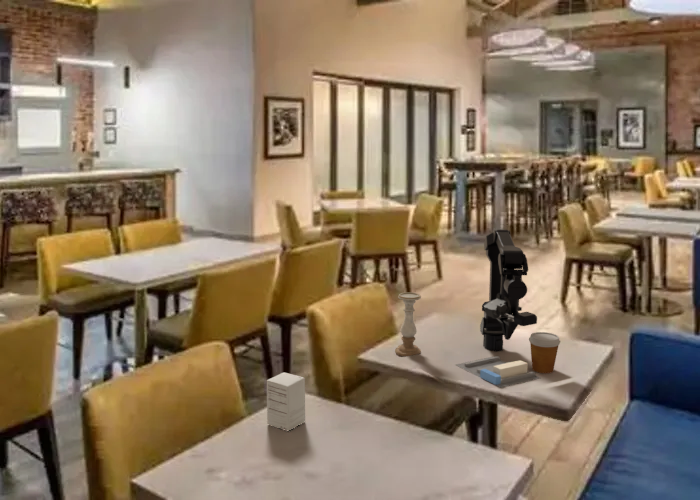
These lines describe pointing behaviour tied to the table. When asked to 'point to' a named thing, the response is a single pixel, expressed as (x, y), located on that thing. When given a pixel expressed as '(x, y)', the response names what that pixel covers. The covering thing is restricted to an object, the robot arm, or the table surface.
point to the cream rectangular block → (510, 369)
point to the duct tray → (474, 371)
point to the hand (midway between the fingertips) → (507, 339)
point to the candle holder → (408, 326)
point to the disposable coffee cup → (543, 351)
